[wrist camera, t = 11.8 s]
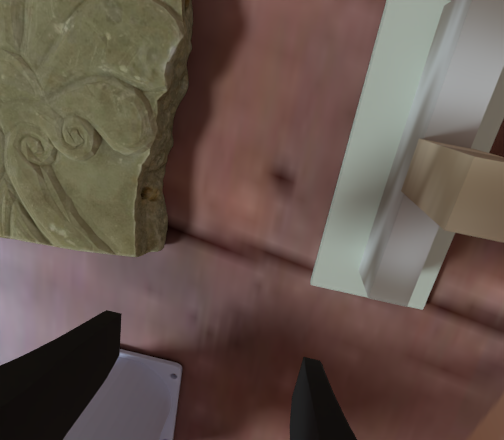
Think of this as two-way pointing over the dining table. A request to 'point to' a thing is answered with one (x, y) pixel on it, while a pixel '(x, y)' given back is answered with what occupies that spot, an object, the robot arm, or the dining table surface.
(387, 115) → the mat
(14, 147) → the decorative tile
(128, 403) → the robot arm
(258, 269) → the dining table surface
